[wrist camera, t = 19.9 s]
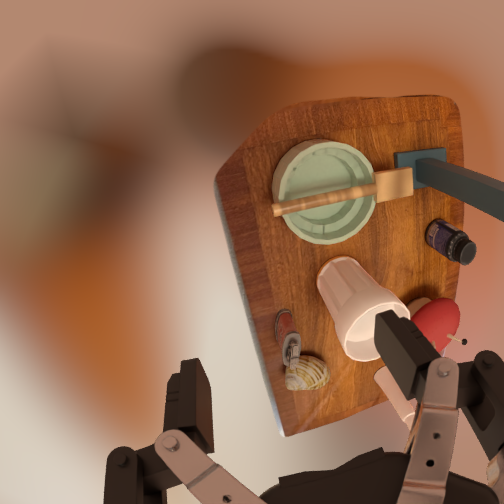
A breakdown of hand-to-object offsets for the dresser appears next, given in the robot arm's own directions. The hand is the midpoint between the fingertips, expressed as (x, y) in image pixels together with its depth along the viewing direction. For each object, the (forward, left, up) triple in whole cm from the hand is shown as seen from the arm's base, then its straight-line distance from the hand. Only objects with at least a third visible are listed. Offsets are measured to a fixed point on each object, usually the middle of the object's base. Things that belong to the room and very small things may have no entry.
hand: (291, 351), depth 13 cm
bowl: (+4, +13, -38) cm, 40 cm away
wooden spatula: (+4, +16, -32) cm, 36 cm away
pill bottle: (+18, +38, -38) cm, 57 cm away
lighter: (+30, +3, -38) cm, 49 cm away
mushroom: (+37, +34, -38) cm, 63 cm away
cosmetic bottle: (+56, +27, -38) cm, 73 cm away
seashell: (+43, +6, -38) cm, 58 cm away
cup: (+22, +15, -38) cm, 47 cm away
